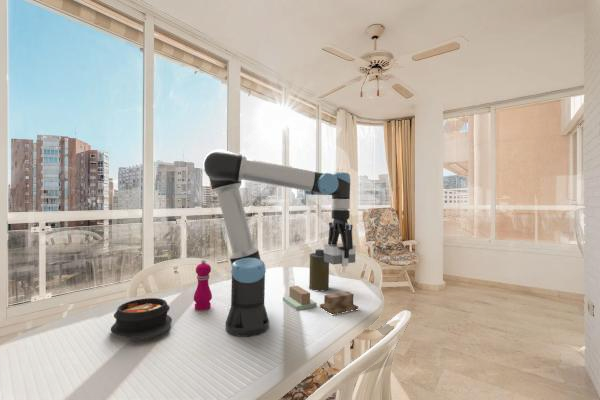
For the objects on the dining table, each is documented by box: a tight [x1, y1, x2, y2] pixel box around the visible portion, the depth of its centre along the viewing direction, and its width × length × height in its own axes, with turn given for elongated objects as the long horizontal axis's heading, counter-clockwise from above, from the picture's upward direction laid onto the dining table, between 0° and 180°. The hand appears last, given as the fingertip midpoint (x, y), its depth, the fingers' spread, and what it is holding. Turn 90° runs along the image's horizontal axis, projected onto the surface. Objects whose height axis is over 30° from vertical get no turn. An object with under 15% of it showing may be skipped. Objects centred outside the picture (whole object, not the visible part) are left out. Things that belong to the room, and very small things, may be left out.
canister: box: [308, 248, 330, 292], centre depth 154 cm, size 11×10×20 cm
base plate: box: [324, 253, 356, 265], centre depth 125 cm, size 11×7×4 cm, turn 118°
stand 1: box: [282, 285, 318, 311], centre depth 130 cm, size 10×13×6 cm
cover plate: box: [323, 243, 356, 256], centre depth 125 cm, size 11×7×5 cm, turn 118°
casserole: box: [110, 297, 173, 341], centre depth 102 cm, size 25×19×8 cm
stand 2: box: [319, 291, 359, 315], centre depth 125 cm, size 13×9×6 cm
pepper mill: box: [193, 259, 213, 311], centre depth 123 cm, size 7×7×20 cm
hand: (339, 264), depth 125 cm, fingers closed on base plate, cover plate, 7 cm apart
